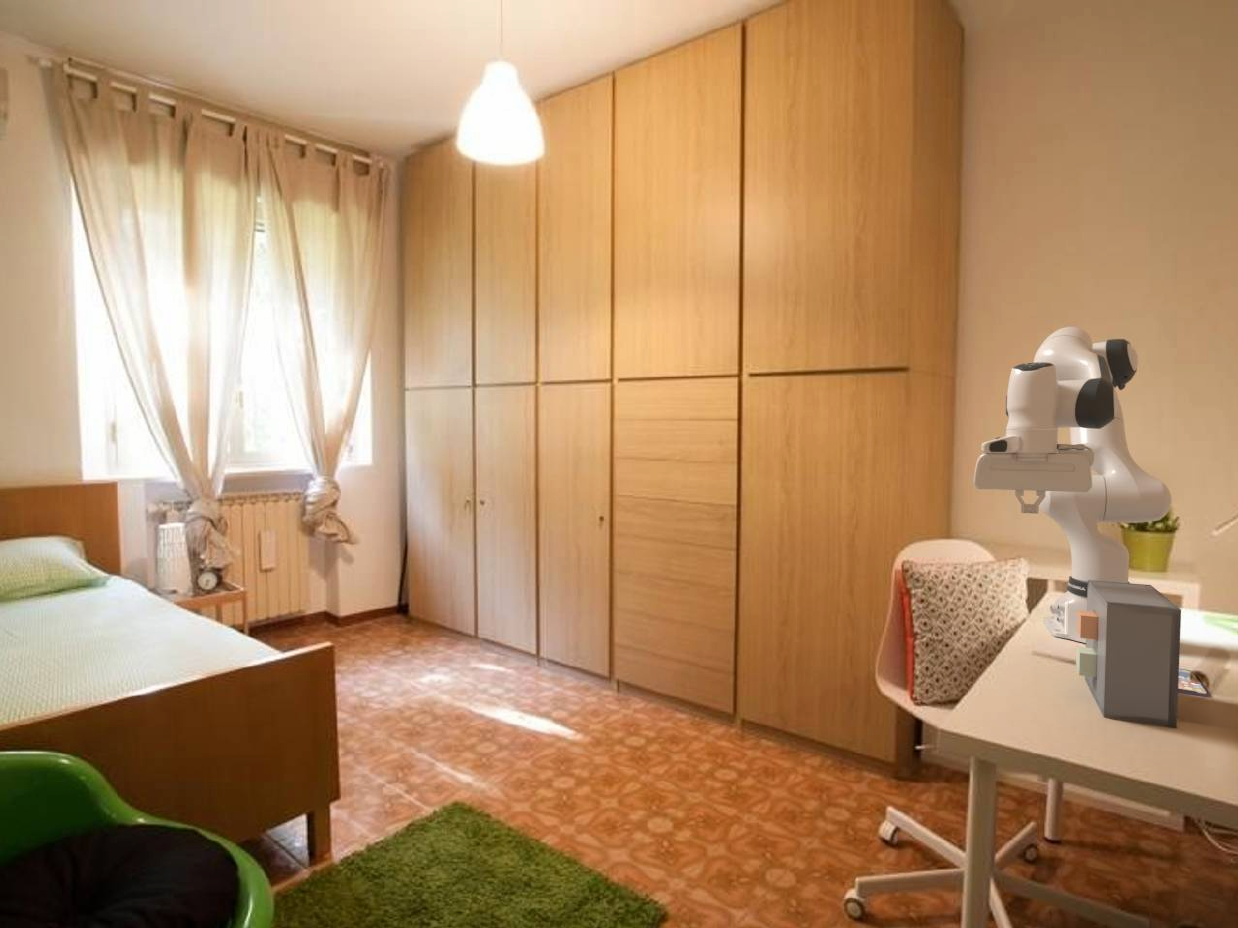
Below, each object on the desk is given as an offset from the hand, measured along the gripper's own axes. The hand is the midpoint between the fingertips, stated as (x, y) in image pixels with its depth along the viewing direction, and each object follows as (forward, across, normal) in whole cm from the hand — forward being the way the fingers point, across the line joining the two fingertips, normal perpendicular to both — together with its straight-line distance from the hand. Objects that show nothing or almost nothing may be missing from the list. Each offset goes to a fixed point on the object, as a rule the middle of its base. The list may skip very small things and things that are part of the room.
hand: (1029, 513), depth 136 cm
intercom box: (+33, -15, +7) cm, 37 cm away
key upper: (+22, -10, +7) cm, 25 cm away
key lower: (+29, -10, +7) cm, 31 cm away
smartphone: (+34, -26, -10) cm, 44 cm away
